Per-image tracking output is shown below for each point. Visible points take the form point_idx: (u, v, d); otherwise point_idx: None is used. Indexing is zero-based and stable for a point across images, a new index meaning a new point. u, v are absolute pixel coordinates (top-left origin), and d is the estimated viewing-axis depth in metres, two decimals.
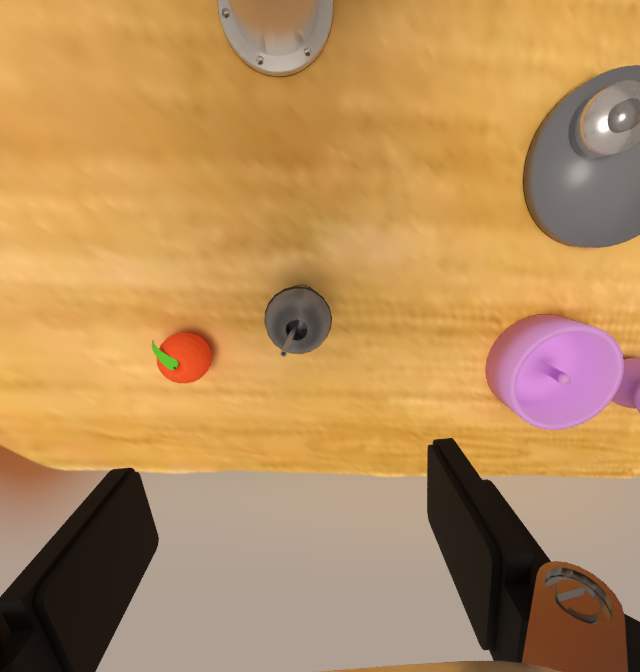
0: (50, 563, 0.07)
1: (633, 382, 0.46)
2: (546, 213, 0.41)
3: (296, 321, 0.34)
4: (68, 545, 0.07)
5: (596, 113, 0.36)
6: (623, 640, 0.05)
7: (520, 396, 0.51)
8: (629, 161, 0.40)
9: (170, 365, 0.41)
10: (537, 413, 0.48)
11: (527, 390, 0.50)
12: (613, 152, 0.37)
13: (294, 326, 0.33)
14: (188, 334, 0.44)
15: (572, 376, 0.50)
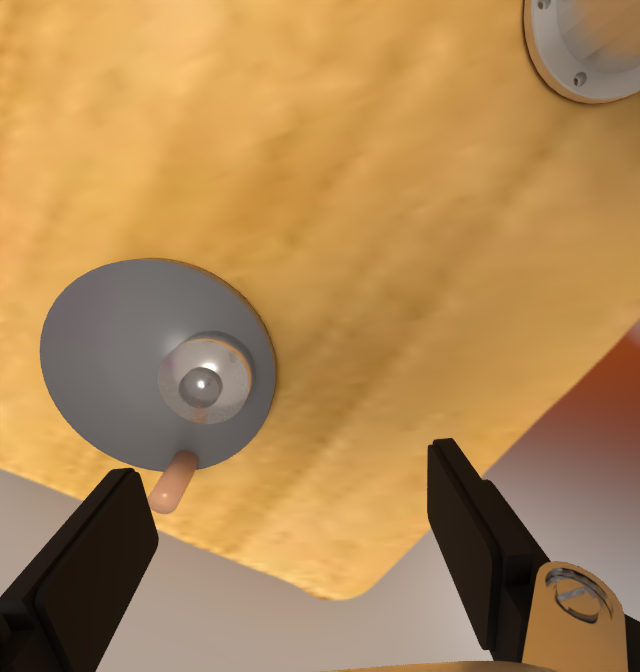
0: (50, 563, 0.07)
1: None
2: (125, 268, 0.26)
3: None
4: (68, 545, 0.07)
5: (223, 357, 0.25)
6: (623, 640, 0.05)
7: None
8: (153, 393, 0.29)
9: None
10: None
11: None
12: (161, 365, 0.25)
13: None
14: None
15: None
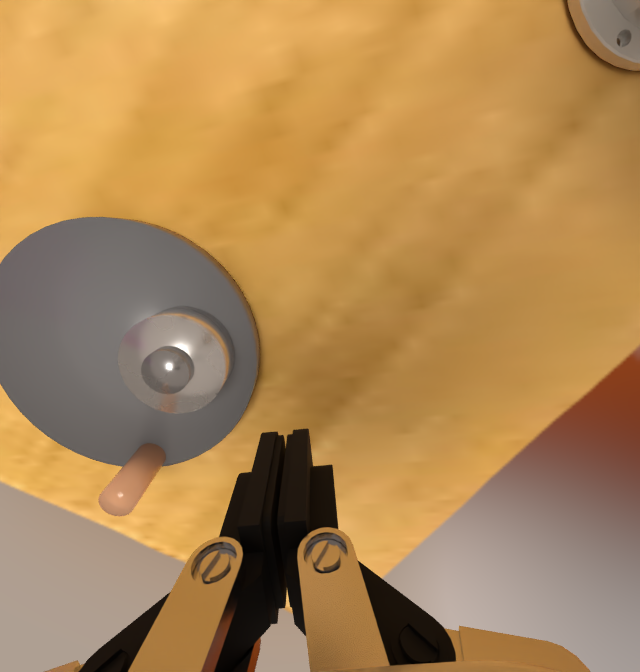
0: (263, 500, 0.08)
1: None
2: (87, 226, 0.22)
3: None
4: (267, 488, 0.09)
5: (196, 336, 0.21)
6: (357, 563, 0.07)
7: None
8: (116, 376, 0.25)
9: None
10: None
11: None
12: (123, 341, 0.21)
13: None
14: None
15: None
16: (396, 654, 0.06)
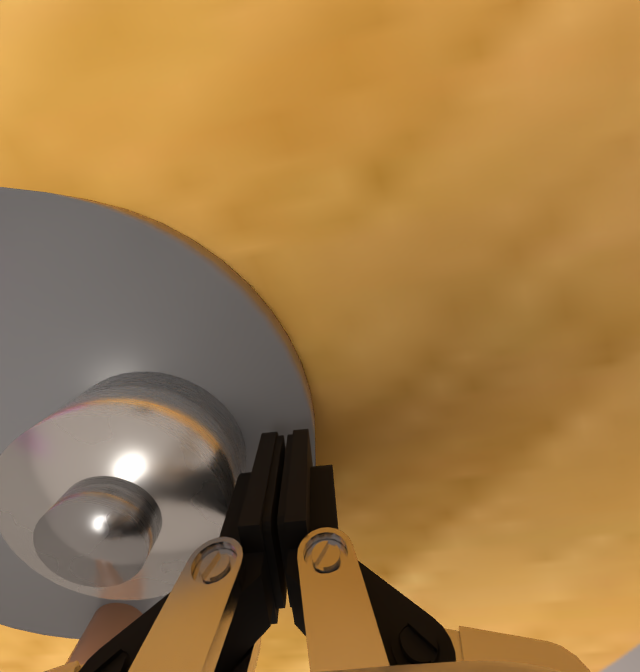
0: (263, 500, 0.08)
1: None
2: None
3: None
4: (267, 488, 0.09)
5: (166, 457, 0.09)
6: (357, 562, 0.07)
7: None
8: None
9: None
10: None
11: None
12: None
13: None
14: None
15: None
16: (396, 654, 0.06)
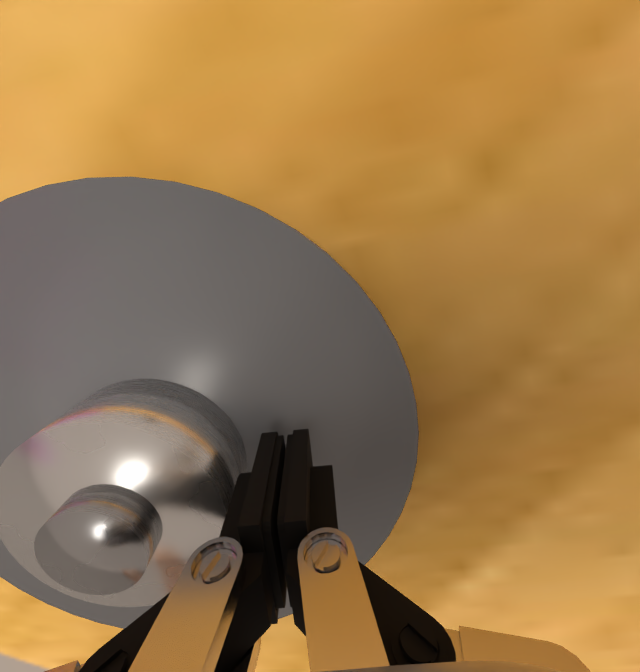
0: (263, 500, 0.08)
1: None
2: (98, 198, 0.10)
3: None
4: (267, 488, 0.09)
5: (160, 461, 0.09)
6: (357, 563, 0.07)
7: None
8: None
9: None
10: None
11: None
12: None
13: None
14: None
15: None
16: (396, 654, 0.06)
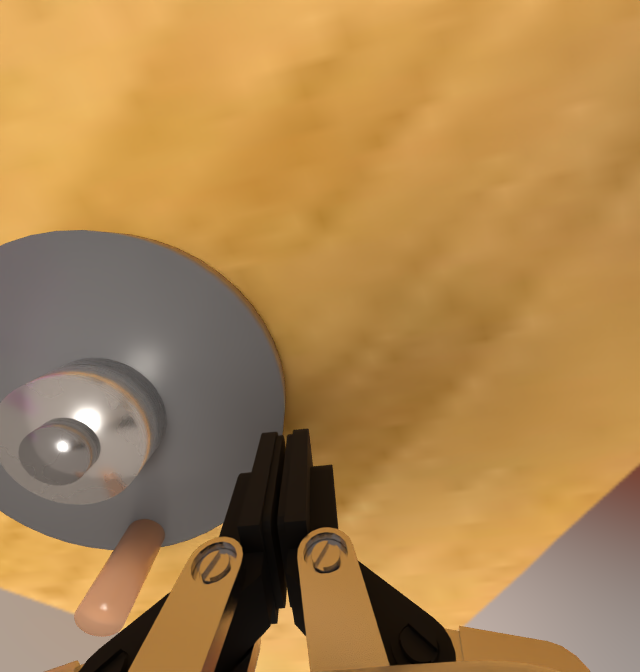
0: (263, 500, 0.08)
1: None
2: (63, 242, 0.16)
3: None
4: (267, 488, 0.09)
5: (97, 402, 0.15)
6: (357, 563, 0.07)
7: None
8: None
9: None
10: None
11: None
12: None
13: None
14: None
15: None
16: (396, 654, 0.06)
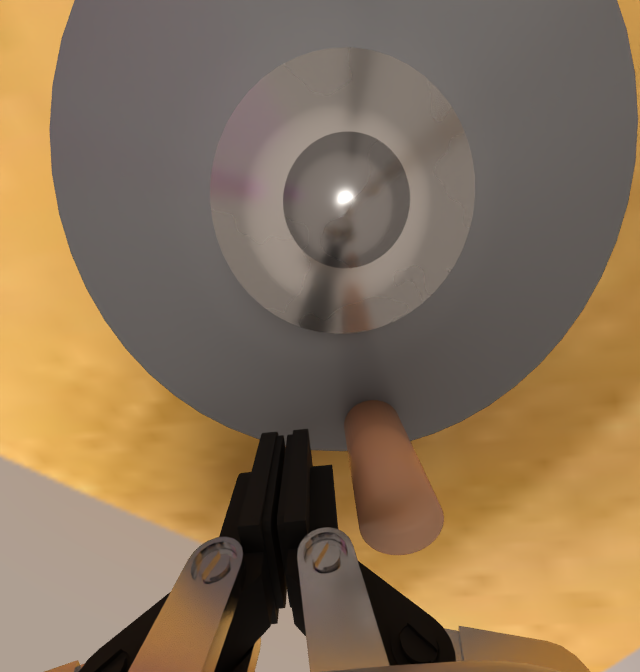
0: (263, 500, 0.08)
1: None
2: None
3: None
4: (267, 488, 0.09)
5: (410, 104, 0.08)
6: (356, 563, 0.07)
7: None
8: None
9: None
10: None
11: None
12: (221, 146, 0.08)
13: None
14: None
15: None
16: (396, 654, 0.06)
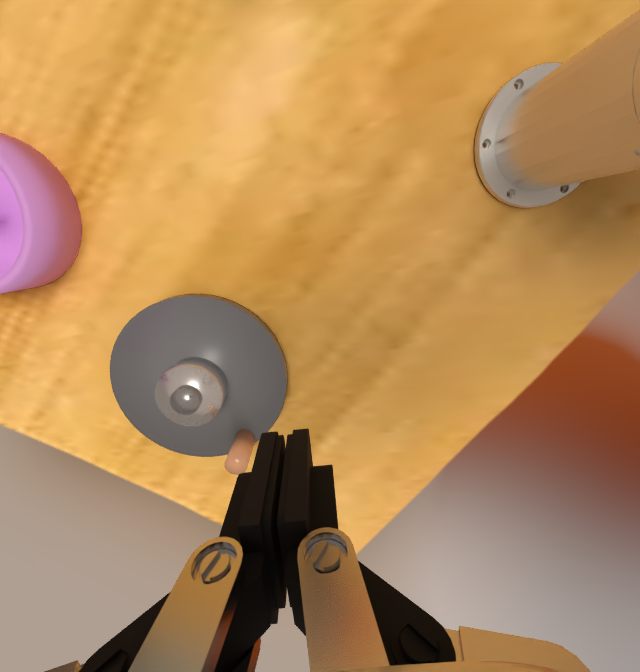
0: (263, 500, 0.08)
1: None
2: (144, 315, 0.35)
3: None
4: (267, 488, 0.09)
5: (189, 373, 0.34)
6: (357, 563, 0.07)
7: None
8: None
9: None
10: None
11: None
12: (155, 397, 0.35)
13: None
14: None
15: None
16: (396, 654, 0.06)
